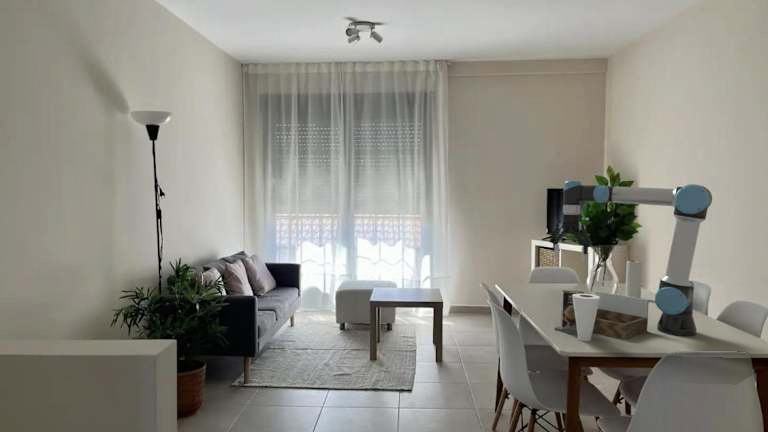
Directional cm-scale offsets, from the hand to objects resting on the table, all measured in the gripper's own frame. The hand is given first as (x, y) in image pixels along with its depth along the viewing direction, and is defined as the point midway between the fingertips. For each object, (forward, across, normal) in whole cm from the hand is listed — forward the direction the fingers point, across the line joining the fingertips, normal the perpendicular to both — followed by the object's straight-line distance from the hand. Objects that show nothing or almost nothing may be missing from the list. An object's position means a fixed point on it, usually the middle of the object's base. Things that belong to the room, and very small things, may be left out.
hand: (569, 259), depth 250 cm
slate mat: (+29, -10, +15) cm, 34 cm away
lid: (+23, -20, -11) cm, 32 cm away
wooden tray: (+29, -20, -1) cm, 35 cm away
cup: (+29, -21, +24) cm, 43 cm away
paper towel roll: (+29, +6, -83) cm, 88 cm away
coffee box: (+28, -10, +15) cm, 34 cm away
